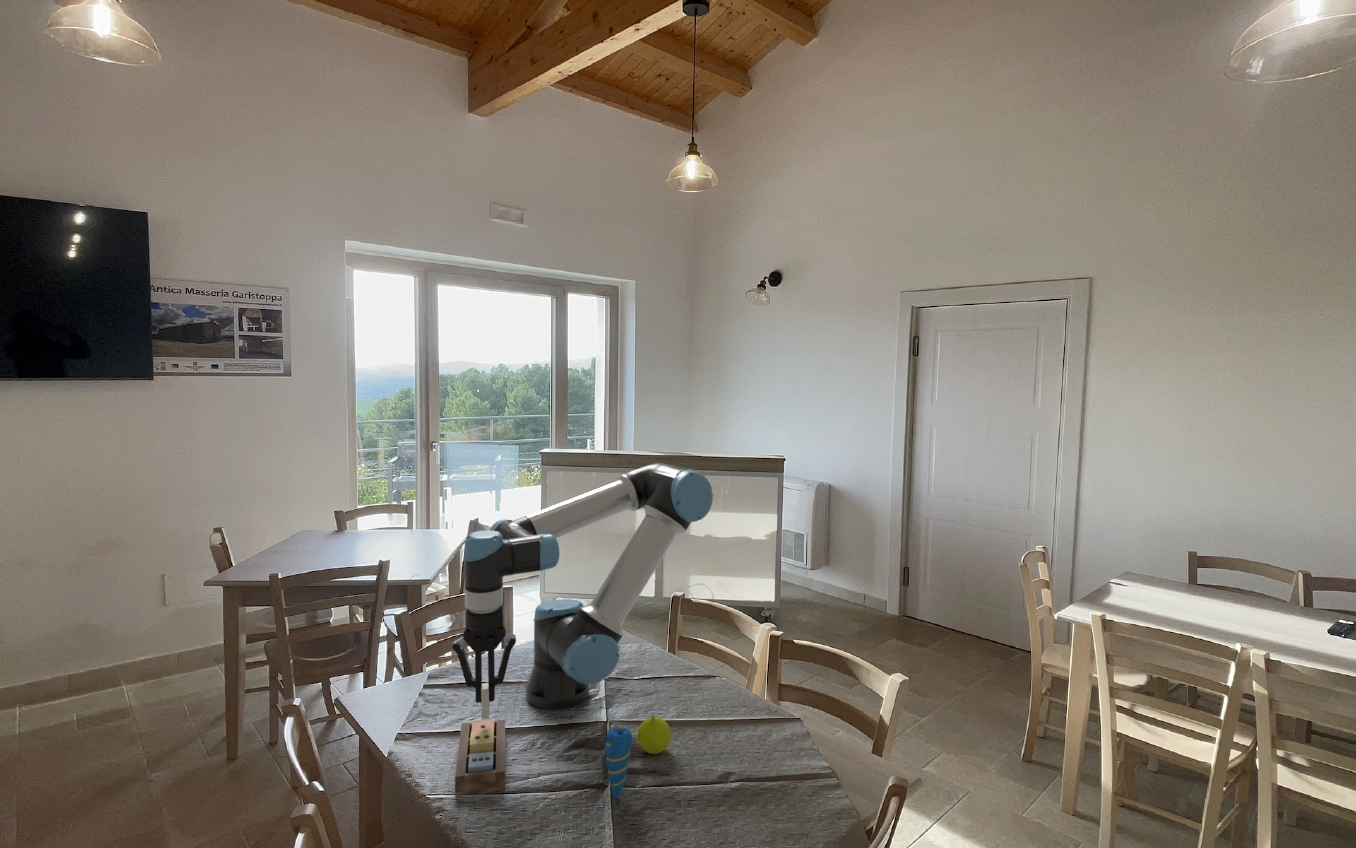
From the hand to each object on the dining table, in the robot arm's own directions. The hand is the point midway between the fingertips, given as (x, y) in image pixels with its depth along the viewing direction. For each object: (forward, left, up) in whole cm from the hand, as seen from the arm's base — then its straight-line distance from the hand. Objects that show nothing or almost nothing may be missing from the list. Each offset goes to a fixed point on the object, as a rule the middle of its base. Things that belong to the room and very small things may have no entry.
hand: (485, 715), depth 144 cm
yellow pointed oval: (-34, +8, -7) cm, 36 cm away
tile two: (+1, +6, -4) cm, 7 cm away
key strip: (+1, +6, -7) cm, 9 cm away
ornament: (-24, +22, -7) cm, 34 cm away
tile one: (+1, 0, -5) cm, 5 cm away
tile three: (+1, +12, -5) cm, 13 cm away
